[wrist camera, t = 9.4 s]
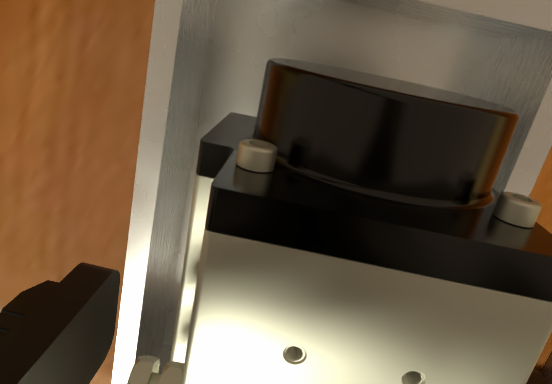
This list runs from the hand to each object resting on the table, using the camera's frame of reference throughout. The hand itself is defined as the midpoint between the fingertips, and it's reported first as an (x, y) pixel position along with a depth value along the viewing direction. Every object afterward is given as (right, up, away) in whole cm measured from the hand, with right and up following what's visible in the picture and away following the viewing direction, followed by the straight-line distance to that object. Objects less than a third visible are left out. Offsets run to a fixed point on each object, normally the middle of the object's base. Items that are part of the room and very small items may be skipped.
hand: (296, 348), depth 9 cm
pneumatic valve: (+1, +3, +8) cm, 8 cm away
